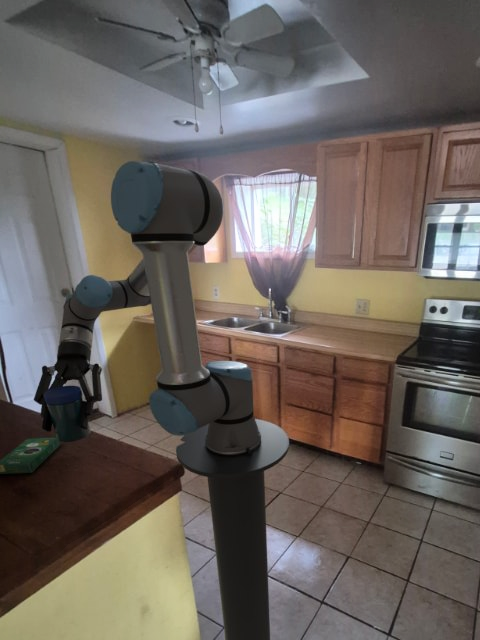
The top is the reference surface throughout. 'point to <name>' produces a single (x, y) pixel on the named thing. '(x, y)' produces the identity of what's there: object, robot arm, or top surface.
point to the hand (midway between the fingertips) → (65, 428)
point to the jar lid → (62, 395)
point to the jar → (68, 421)
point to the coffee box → (28, 455)
